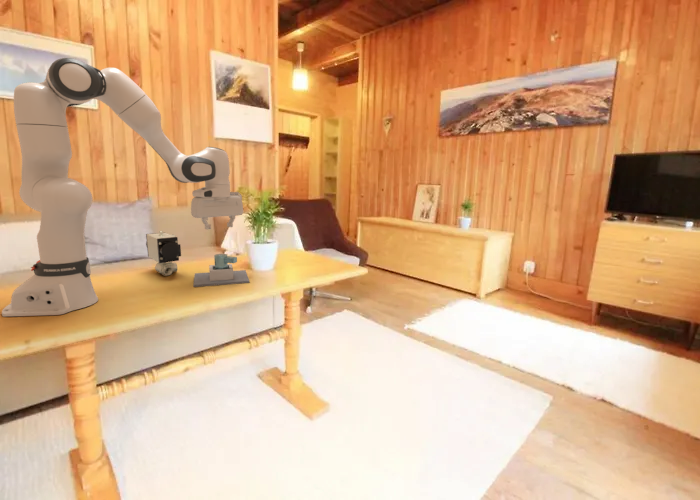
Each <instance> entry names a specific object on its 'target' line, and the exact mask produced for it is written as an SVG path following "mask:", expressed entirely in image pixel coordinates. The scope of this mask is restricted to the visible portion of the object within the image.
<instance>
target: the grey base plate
mask: <svg viewBox="0 0 700 500" xmlns="http://www.w3.org/2000/svg"><path fill="white" fill-rule="evenodd" d="M208 267H209V268H208V269H209V270H208V271H209V272H198V273H197V272H196V273H194V277H193V285H192V286H193V288H196V287H197V288H199V287H200V288H201V287H210V286H211V287H212V286H213V287H214V286H226V285H236V284H237V285H239V284H250V278H249V276H248V274H247V271H246V269H242V270H234V267H233V263H228V269H219V270H215V264H209V266H208Z"/></svg>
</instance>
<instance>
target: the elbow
mask: <svg viewBox="0 0 700 500" xmlns="http://www.w3.org/2000/svg"><path fill="white" fill-rule="evenodd" d="M213 258H214V260H213V261H214V265H215V270H219V269H228V264H236V263H237V262H238V257H237V256H228V254H226V253H217V254H214V257H213Z"/></svg>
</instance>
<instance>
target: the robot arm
mask: <svg viewBox="0 0 700 500" xmlns="http://www.w3.org/2000/svg"><path fill="white" fill-rule="evenodd" d="M13 91H14V92H13V114H14V121H15V124H16V125H15V126H16V130H17V131H16V132H17V136H18V142H19V145H20V151H21V184H20V188H19V189H18V190H19V192H18V193H19V198H20V200H22V201H23V203H24V204H25V205H26V206H28V207H29V208H31V209H33V210H34V211H36V212H40V216H41V217H40V225H39V230H38V233H37V235H36V240H37V241H36V242H37V247H38V254H39V260H37V261H36V262H35V263H34V264H33V265H32V266H31V267H30V268H31V270H30V271H31V272H33V273H34V274H33V275H31V277H30V278H28V279H27V280H25V281H24V282H23V283H21V284H19V286H17V287H16V288H15V289H14V290H13V292H12V294H11V300H10V303H9V304H8V305H6V306H5V307H4V308H3V309H2V310H1V315H2V317H31V316H37V317H38V316H60V315H65V314H67V313H70V312H72V311H75V310H79V309H83V308H86V307H87V308H88V307H90V306H92V305H94V304H96V303H97V302H98V301H99V297H98V295H97V294H96V292H95V289H94V286H93V283H92V279H91V270H92V269H91V264H90V260H89V257H87V247H86V241H85V239H86V238H85V226H86V220H87V216H88V215H87V214H88V210H89V209H90V208H91V206H92V204H93V195H92V192H91V190H90V189H89V187H87V186H86V185H85V184H84V183H81V182H80V181H78V180H76V179H74V178H71V177H69V166H70V161H71V159H72V156H73V151H72V144H71V139H70V133H69V127H68V123H67V122H68V121H67V117H66V116H67V115H66V113H67V112H66V111H67V108H68V107H74V106H80V105H83V104H86V103H88V102H90V101H92V100H98V101H100V102H102V103H103V104H105V105H106V106H108V107H109V108H110V110H112V111H113V112H114V114H116V116H117V117H118V118H119V119H121V121H123V123H125V125H127V126H128V127H129V128H131V130H133V131H134V132H135V133H137V134H138V136H140V137H141V138H142V139H144V140H145V141H146V143H148V145H149V146H150V147H151V148H152V149H153V150H154V151H155V152H156V154H157V155H158V156H160V158H161V159H162V160H163V161H164V162H165V164H166V166H167V168H168V171H169V173H170V175H171V176H172V178H173V179H174V180H176V181H177V182H179V183H182V184H183V183H184V184H189V183H191V184H192V183H195V184H197V183H201V182H204V186H203V187H201V188H198V189H197V188H196V189H194V190H192V194H191V195H192V197H193V198H192V199H191V202H190V203H191V204H190V206H191V207H190V214H191V216H192V218H196V219H201V222H202V223H203V224H204V229H205V230H211V229H212V224H210V223H208V220H209V218H216V217H217V218H219V217H220V218H221V217H229V221H228V222H226V224H227V225H226V227H227V228H233V226H234V221H235V219H236V216H242V215H243V214H244V205H243V195H242V194H241V193H240V192H238V191H231V182H230V179H229V178H230V177H229V176H230V172H231V171H230V160H229V154H228V153H227V151H225V150H224V149H223V148H218V147H214V146H206V147H205V148H204V149H202V150H200V151H199V152H196V153H193V154H189V155H188V154H187V155H186V154H184V153H183V152H181V151H180V150H179V149H178V148H177V146H175V144H174V143H173V142H172V141H171V140H170V138H168V137H167V135H166V134H165V133H164V131H163V129H162V116H161V112H160V110H159V109H158V108H157V105H155V103H154V101H153V100H152V99H151V98H150V96H148V95H147V93H146V91H144V90H143V89H142V88H141V86H139V85H138V84H137V83H136V82H135V81H134V80H133V79H132V78H130V76H128V75H127V74H126V73H125V72H124V71H123V70H120V69H119V68H117V67H105V68H103V69H101V70H100V69H98V68H97V67H94V66H92V65H90V64H87V63H85V62H84V61H82V60H80V59H76V58H72V57H62V58H59V59H56V60H55V61H53V62H52V64H51V65H50V66H49V67H48V69H47V73H46V76H45V79H44V80H43V81H42V82H32V81H31V82H24V83H23V82H22V83H20V84H18V85H17V86H16V87H15V88H14V90H13Z"/></svg>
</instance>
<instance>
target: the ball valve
mask: <svg viewBox="0 0 700 500" xmlns="http://www.w3.org/2000/svg"><path fill="white" fill-rule="evenodd" d="M145 235H146V236H145V237H146V243H145V246H146V248H147V257H148V258H150V259H151V260H152V261H153V260H154V261H156V264H155V265H154V266H155V267H154V270H155V271H156V272H157V273H159V274H161V275H162V276H164V277H168V276H170V275H172V274H173V273H175V272H177V271H178V264H177V261H180V260H179V259H180V258H179V257H181V256H182V250H181V249H182V248H181V244H180V243H179V240H178V236H177V235H174V234H170V233H168V232H164V231H163V230H160V231H159V232H154V233H146V234H145Z"/></svg>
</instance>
